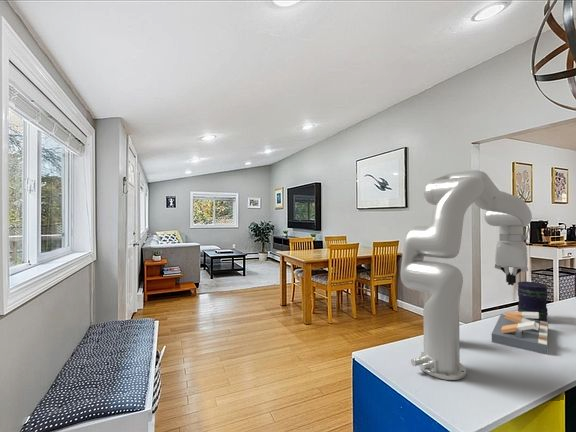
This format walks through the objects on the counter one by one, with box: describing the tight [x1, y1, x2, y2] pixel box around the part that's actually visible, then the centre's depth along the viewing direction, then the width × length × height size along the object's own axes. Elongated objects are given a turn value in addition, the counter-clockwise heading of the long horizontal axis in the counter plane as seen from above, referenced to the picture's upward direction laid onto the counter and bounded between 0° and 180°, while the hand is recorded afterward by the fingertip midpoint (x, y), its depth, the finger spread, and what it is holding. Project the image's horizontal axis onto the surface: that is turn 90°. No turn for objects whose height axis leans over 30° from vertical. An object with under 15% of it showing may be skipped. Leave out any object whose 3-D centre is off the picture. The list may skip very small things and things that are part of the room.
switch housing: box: [491, 313, 549, 355], centre depth 111 cm, size 26×15×5 cm, turn 139°
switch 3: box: [501, 321, 536, 333], centre depth 105 cm, size 4×10×2 cm, turn 49°
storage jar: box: [517, 281, 549, 322], centre depth 128 cm, size 10×10×15 cm
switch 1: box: [506, 311, 539, 319], centre depth 117 cm, size 4×10×2 cm, turn 49°
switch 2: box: [504, 311, 539, 330], centre depth 111 cm, size 4×10×2 cm, turn 49°
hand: (510, 284), depth 119 cm, fingers closed
